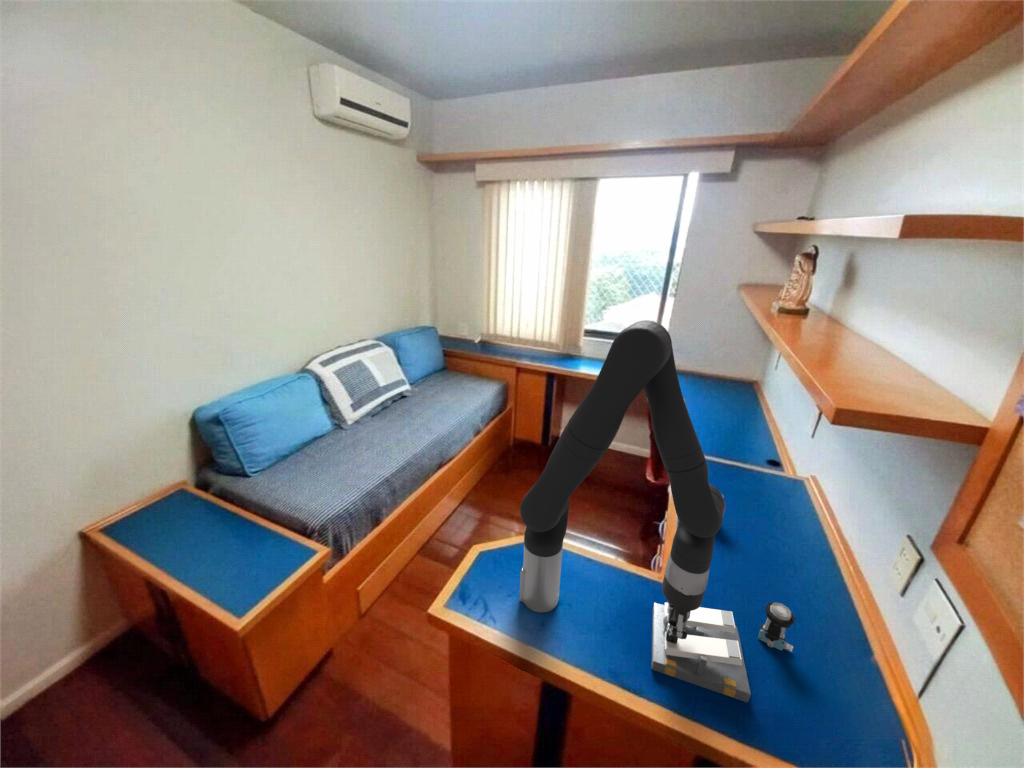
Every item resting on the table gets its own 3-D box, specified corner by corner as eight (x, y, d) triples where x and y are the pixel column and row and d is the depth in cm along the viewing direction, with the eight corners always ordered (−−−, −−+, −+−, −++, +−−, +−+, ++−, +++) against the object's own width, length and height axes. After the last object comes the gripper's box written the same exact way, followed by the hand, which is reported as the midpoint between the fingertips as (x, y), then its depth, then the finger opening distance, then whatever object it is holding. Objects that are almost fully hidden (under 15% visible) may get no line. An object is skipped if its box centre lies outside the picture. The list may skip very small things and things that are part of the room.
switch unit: (651, 670, 81) (656, 647, 79) (652, 610, 94) (656, 589, 92) (747, 703, 75) (756, 680, 73) (734, 634, 89) (741, 613, 86)
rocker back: (665, 622, 87) (664, 616, 87) (665, 607, 91) (664, 601, 90) (735, 633, 82) (735, 626, 82) (732, 617, 86) (732, 611, 85)
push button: (792, 643, 87) (804, 611, 84) (790, 662, 83) (803, 629, 80) (758, 626, 91) (768, 594, 87) (755, 643, 87) (765, 611, 83)
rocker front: (666, 654, 81) (665, 648, 80) (665, 637, 84) (664, 631, 84) (742, 665, 75) (741, 658, 75) (738, 646, 79) (737, 640, 78)
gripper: (664, 548, 83) (652, 608, 89) (665, 598, 71) (651, 662, 77) (702, 558, 80) (687, 618, 86) (710, 611, 69) (692, 677, 75)
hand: (670, 639), depth 82 cm, fingers closed
